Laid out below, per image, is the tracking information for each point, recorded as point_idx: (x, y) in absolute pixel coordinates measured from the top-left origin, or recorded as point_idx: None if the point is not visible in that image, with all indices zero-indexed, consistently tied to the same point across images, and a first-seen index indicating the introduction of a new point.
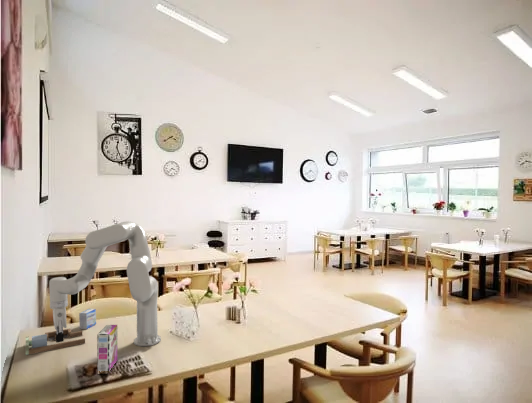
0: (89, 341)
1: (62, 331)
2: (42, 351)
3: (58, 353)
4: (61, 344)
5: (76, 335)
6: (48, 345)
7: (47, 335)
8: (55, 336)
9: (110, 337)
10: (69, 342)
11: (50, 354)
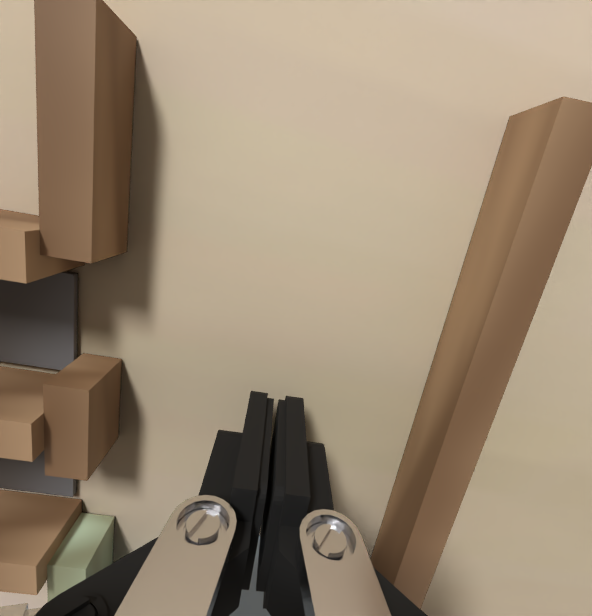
0: (535, 28)
1: (370, 583)
2: None
3: (581, 489)
4: (467, 465)
5: (123, 146)
6: None
7: (5, 570)
8: (84, 475)
9: None
10: (506, 371)
11: (532, 549)
